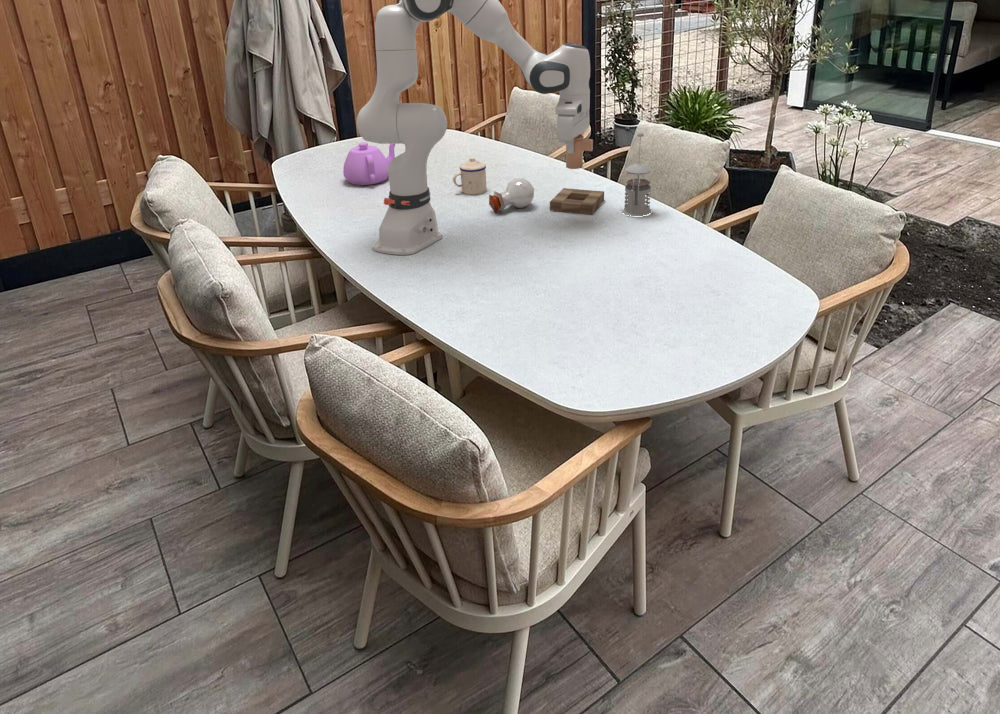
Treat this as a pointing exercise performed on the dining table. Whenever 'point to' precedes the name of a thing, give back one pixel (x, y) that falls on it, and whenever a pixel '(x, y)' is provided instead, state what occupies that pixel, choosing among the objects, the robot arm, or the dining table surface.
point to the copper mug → (578, 152)
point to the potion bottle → (513, 195)
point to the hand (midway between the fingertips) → (574, 150)
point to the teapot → (367, 164)
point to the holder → (577, 201)
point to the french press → (637, 189)
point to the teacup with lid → (472, 177)
